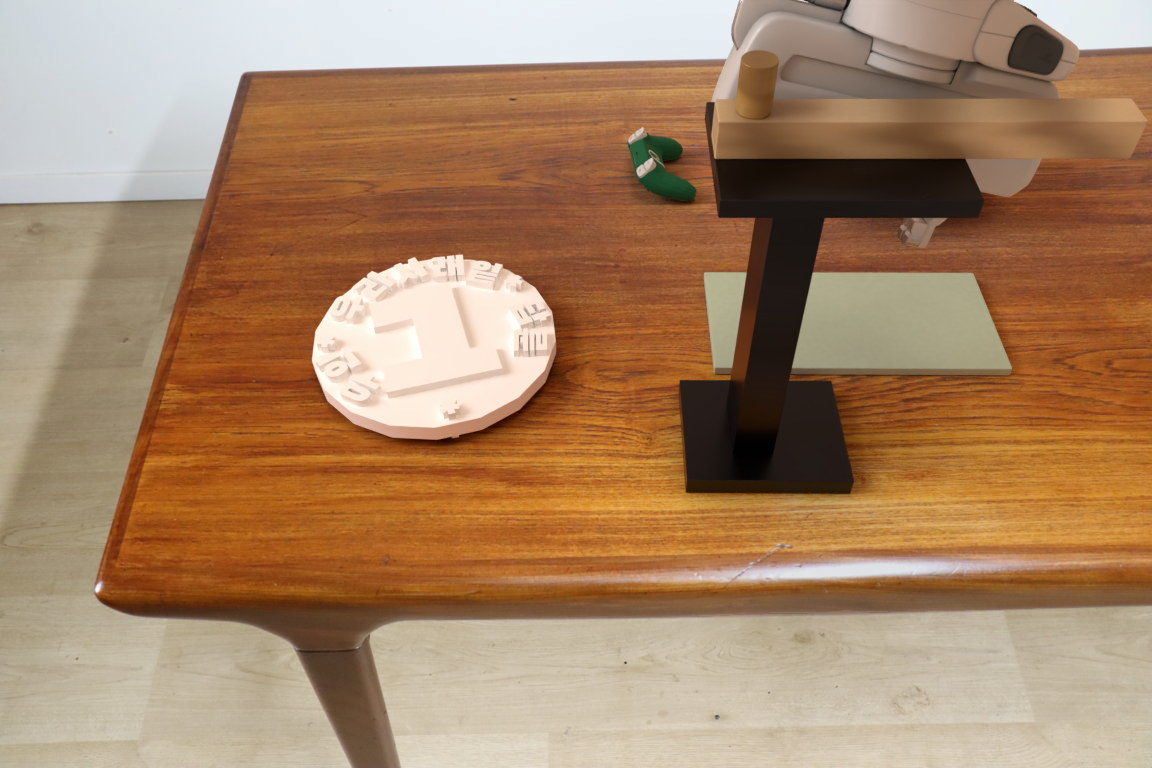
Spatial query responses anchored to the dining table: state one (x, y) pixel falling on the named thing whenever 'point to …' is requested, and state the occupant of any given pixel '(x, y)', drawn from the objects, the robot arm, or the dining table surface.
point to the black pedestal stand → (794, 315)
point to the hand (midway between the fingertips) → (836, 227)
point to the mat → (874, 325)
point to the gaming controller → (658, 165)
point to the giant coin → (434, 348)
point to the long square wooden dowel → (915, 125)
